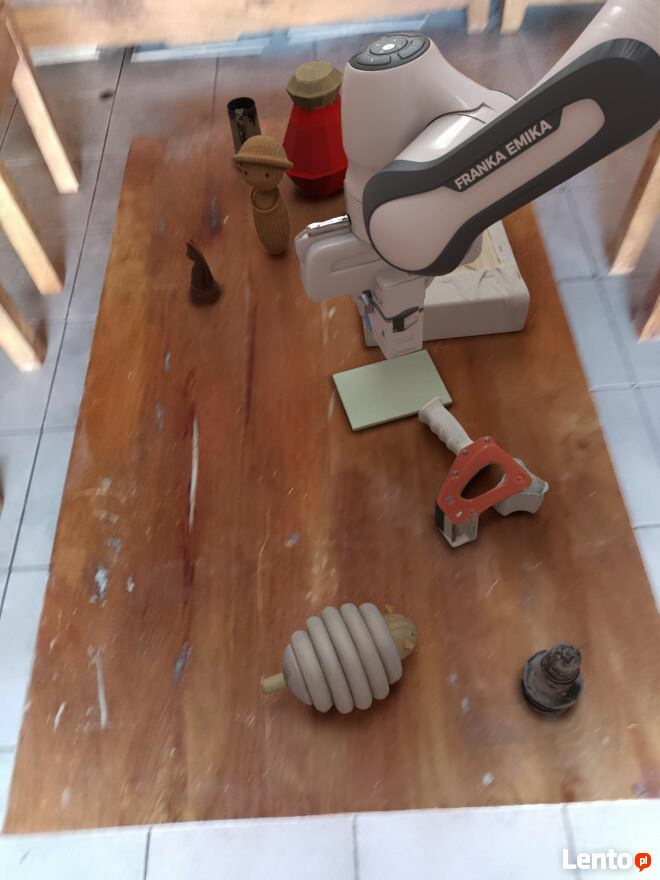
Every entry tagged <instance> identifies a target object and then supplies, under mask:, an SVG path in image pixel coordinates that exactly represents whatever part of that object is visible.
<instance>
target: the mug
mask: <svg viewBox="0 0 660 880" xmlns="http://www.w3.org/2000/svg"><path fill="white" fill-rule="evenodd" d="M226 110H227V115H228V120H229V125H230V131H231V136H232V137H231V138H232V142H233V148H234V155H237V154H238V152H239V151H240V149H241V147H242V145H243V144H244V143H245V141H247V140H248V139H249V138H251V137H253V136H257V135H263V134H262V130H261V125H260V120H259V115H258V109H257V105H256V101H255V100H254V99H253V98H252V97H248V96H240V97H239V96H238V97H235V98H233V99H231V100H229V101H228V102H227V104H226ZM236 166H237V167H238V169H240V170H242V164H239V163H236Z"/></svg>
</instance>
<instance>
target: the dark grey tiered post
mask: <svg viewBox="0 0 660 880" xmlns="http://www.w3.org/2000/svg"><path fill="white" fill-rule="evenodd" d="M582 660H583V658H582V653H581V650H580V649H578V647H577V646H576V645H575V644H573V643H570V642H568V641H560V642H558V643H555V644H554V645H552V647H551V648H550V649H542V650H539V651H536V652H534V653H533V654H531V655H530V656H529V657H528V659H527V660H526V661H525V664H524V666H523V670H522V678H521V680H520V681H521V682H520V689H521V694H522V697H523V698H524V700H525V702H526V703H527V704H528V706H529V707H531V708H532V709H533V710H534V711H536V712H538V713H539V714H542V715H546V716H556V715H559V714H562V713H563V712H565V711H566V710H568V708H570V707H571V706H572V705H574V704H575V703H577V702H578V700H579V699H580V697H582V693H583V691H584V676H583V673H582V670H581V669H580V668H581V664H582Z"/></svg>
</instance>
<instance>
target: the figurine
mask: <svg viewBox="0 0 660 880" xmlns="http://www.w3.org/2000/svg"><path fill="white" fill-rule="evenodd" d="M282 145H283V144H281V142H280V141H279V140H277V139H275V137H272V136H270V135H264V134H262V135H257V136H253V137H251V138H249V139H248V140H247V141H245V143H244V144H243V145H242V147H241V149H240V151H239V152H238V154H237V155H235V154H234V155H232V156H231V157H230V158H231V161H232V162H233V163H236V164H237V163H239V164H242V169H241V174H242V177H243V180H244V181H245V183H246V184H247V186H249V187H250V188H252V189H251V191H250V194H249V203H250V206H251V208H252V217H253V223H254V227H255V231H256V234H257V236H258V239H259V240H260V242H261V244H262V246H263V247H264V249H266V251H268V252H269V253H270V254H271V255H279V254H281V253H284V251H285V249H286V248H287V246H288V244H289V241H290V233H291V226H290V225H291V224H290V218H289V212H288V208H287V205H286V201H285V198H284V196H283V194H282V193H281V189H280V188H279V185H280V184H281V182H282V180H283V178H284V174H285V172H284V169H292V168H293V163H291V162H289V161H288V159H287V156H286V152H285V150H284V148H283V146H282Z"/></svg>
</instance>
